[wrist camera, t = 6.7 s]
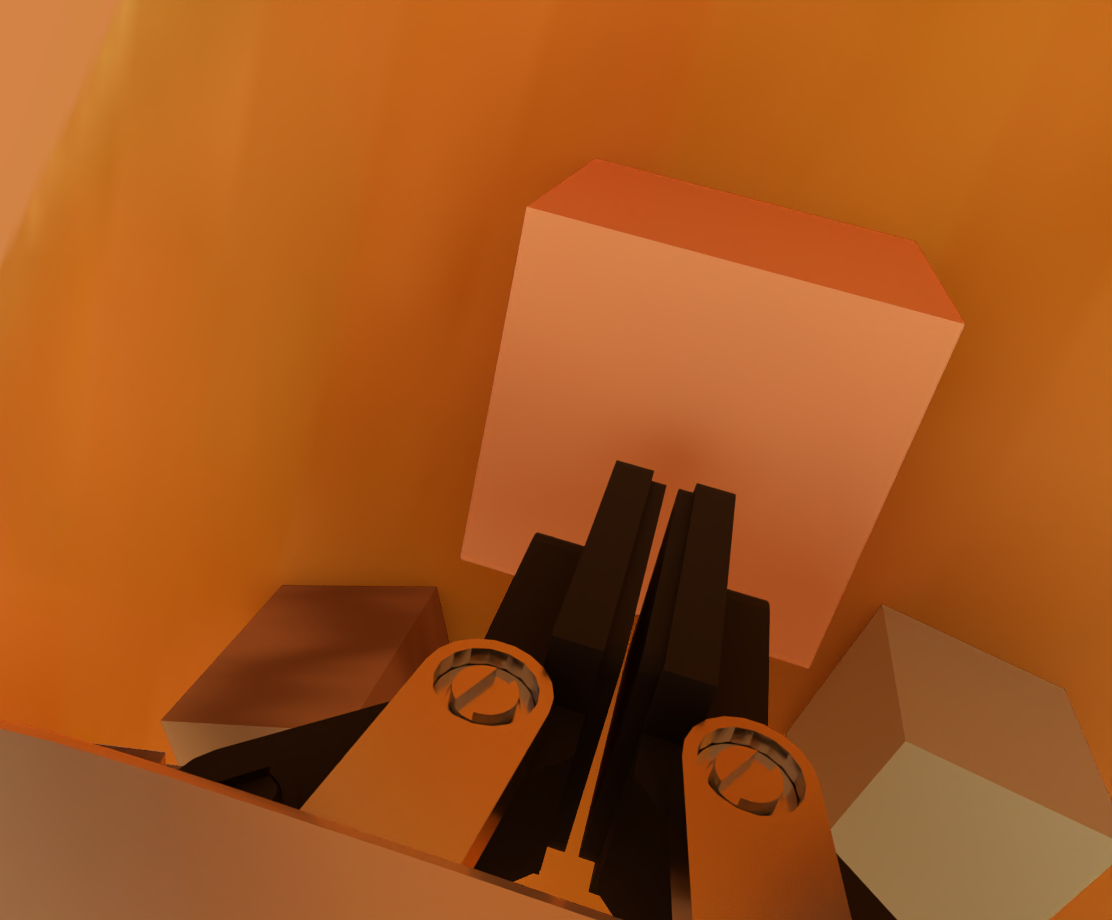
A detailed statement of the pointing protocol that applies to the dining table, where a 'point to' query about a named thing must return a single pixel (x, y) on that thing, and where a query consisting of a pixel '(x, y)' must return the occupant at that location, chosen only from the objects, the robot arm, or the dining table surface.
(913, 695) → the greygreen block
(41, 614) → the dining table surface
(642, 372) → the terracotta block
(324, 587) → the walnut block
